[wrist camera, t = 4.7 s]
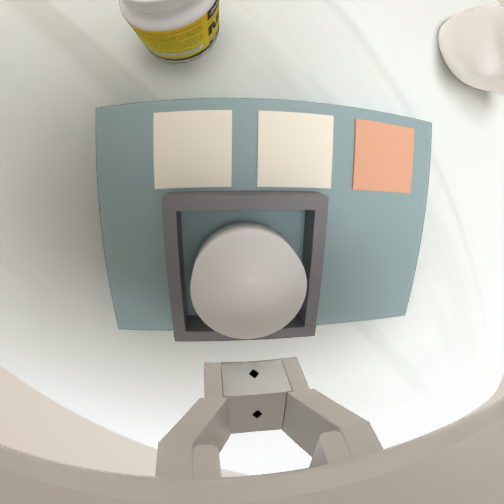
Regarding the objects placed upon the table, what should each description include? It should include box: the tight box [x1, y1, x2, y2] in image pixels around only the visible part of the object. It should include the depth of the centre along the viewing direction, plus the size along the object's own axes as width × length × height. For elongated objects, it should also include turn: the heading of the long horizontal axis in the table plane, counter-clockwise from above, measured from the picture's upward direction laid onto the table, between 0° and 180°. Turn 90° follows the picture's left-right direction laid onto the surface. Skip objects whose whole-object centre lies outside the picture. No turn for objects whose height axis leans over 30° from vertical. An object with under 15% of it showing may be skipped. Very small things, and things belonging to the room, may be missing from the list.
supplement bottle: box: [119, 0, 219, 62], centre depth 11 cm, size 5×5×8 cm
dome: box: [190, 222, 307, 339], centre depth 17 cm, size 6×6×4 cm
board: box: [96, 98, 432, 341], centre depth 18 cm, size 22×15×3 cm
